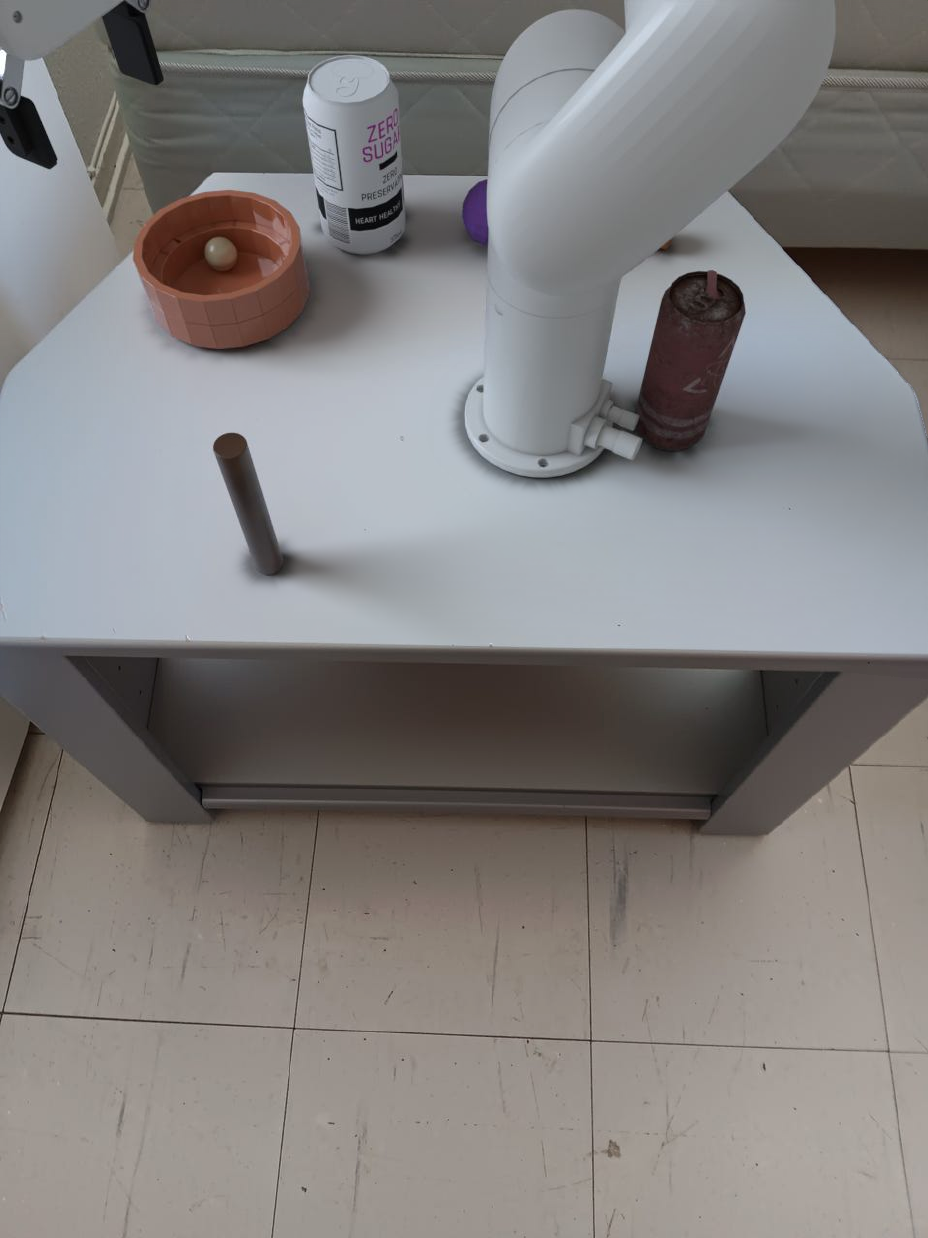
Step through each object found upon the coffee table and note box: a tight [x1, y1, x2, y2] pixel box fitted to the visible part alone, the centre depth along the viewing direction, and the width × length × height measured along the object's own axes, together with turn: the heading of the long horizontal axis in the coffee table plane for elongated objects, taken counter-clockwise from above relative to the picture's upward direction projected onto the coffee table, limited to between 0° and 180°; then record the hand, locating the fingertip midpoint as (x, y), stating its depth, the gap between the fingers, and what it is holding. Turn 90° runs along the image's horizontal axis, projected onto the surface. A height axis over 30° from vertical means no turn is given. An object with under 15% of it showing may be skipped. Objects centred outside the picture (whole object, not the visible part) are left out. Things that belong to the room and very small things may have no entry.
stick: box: [212, 432, 284, 576], centre depth 65 cm, size 2×2×14 cm
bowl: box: [132, 189, 310, 350], centre depth 83 cm, size 15×15×6 cm
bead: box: [204, 237, 237, 271], centre depth 86 cm, size 3×3×3 cm
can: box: [634, 269, 747, 452], centre depth 72 cm, size 6×6×14 cm
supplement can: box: [302, 54, 407, 255], centre depth 84 cm, size 8×8×15 cm
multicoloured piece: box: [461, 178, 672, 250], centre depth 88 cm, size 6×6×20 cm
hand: (91, 117), depth 57 cm, fingers open, 9 cm apart
